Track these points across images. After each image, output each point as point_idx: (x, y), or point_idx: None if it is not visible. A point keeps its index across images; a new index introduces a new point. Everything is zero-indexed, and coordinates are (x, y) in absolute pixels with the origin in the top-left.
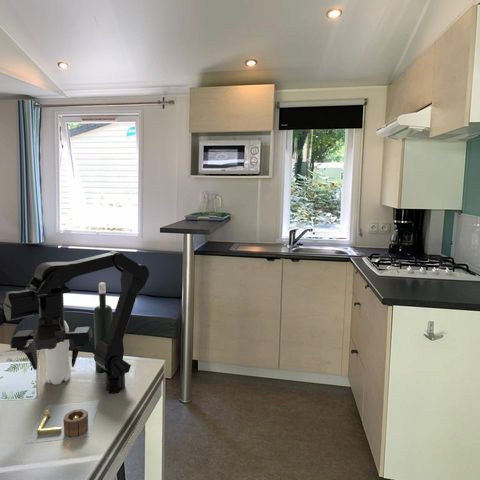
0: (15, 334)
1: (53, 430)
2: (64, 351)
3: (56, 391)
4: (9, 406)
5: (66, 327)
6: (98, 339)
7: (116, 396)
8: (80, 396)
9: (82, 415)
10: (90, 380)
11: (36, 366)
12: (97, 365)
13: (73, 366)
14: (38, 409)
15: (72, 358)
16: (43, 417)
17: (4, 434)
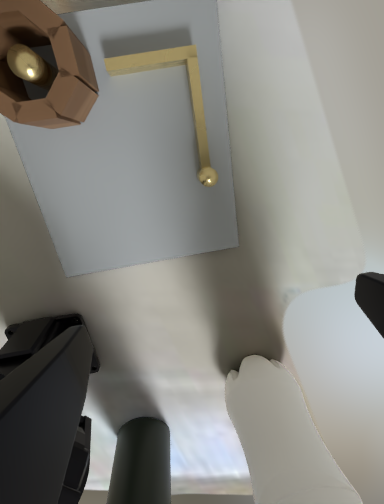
0: None
1: (133, 55)
2: (263, 491)
3: (240, 329)
4: (351, 253)
5: None
6: None
7: (31, 310)
8: (154, 307)
9: (8, 93)
10: (162, 384)
11: (371, 299)
12: (156, 443)
13: (68, 328)
14: (259, 237)
15: (21, 385)
16: (220, 176)
17: (318, 93)
